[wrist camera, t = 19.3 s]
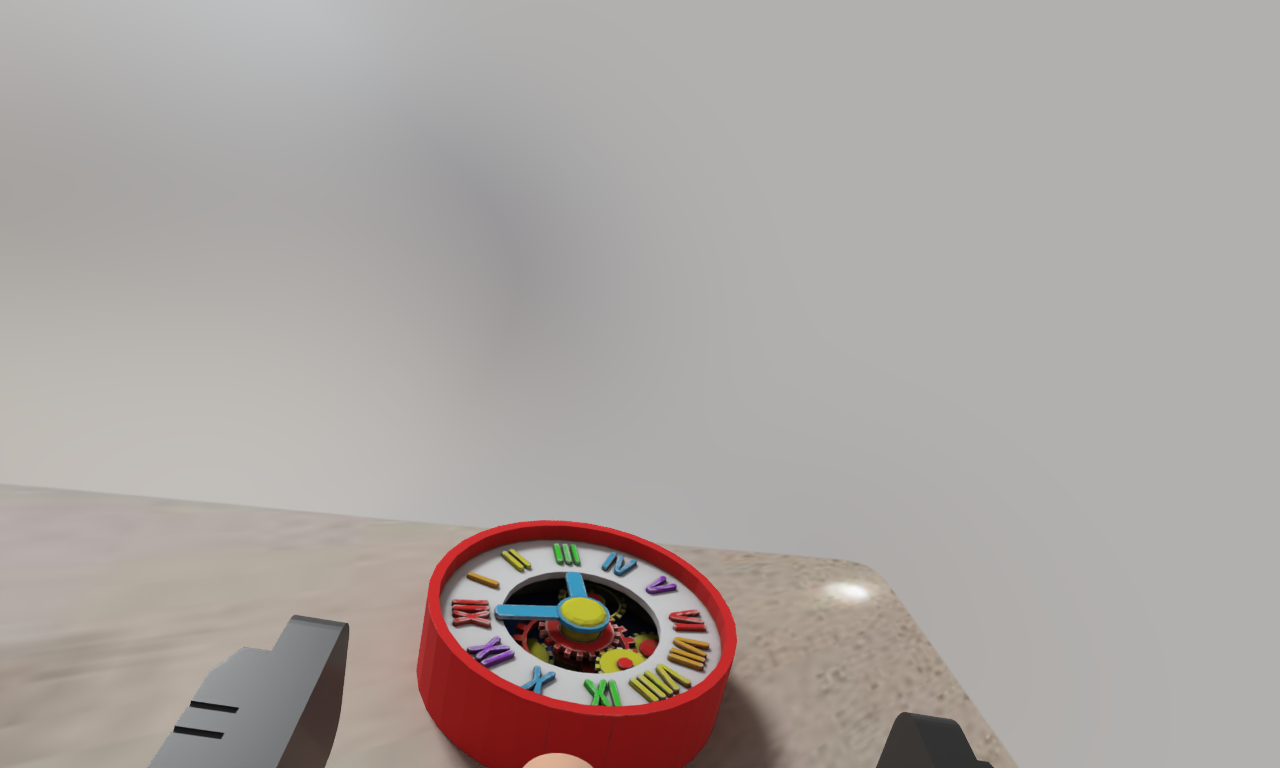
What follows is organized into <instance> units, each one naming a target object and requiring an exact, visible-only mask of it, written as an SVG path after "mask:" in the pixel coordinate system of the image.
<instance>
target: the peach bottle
mask: <svg viewBox="0 0 1280 768" xmlns="http://www.w3.org/2000/svg"><path fill="white" fill-rule="evenodd" d="M523 768H593V767H592V766H591V765H590V764H588V763H587V762H585V761H584V760H582V759H580V758H578V757H575V756H572V755H568V754H562V753H550V754H544V755H541V756H538V757H536V758H534V759H532V760H531V761H529V762H528V763H527V764H526V765H525V766H524V767H523Z"/></svg>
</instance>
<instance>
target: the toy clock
mask: <svg viewBox="0 0 1280 768" xmlns="http://www.w3.org/2000/svg"><path fill="white" fill-rule="evenodd" d="M736 644H737V636H736V627H735V623H734V620H733V617H732V614H731V612H730V609H729V607H728V605H727V604H726V602H725V601H724V599H723V597H722V596H721V594H720V593H719V591H718V590H717V589H716V588H715V587H714V586H713V585H712V584H711V583H710V581H709V580H708V579H707V578H706V577H705V576H703V575H702V574H701V573H700V572H699V571H698V570H696V569H695V568H694V567H693V566H692V565H690V564H689V563H687V562H686V561H684V560H683V559H681V558H680V557H678V556H677V555H675V554H674V553H672V552H670V551H668V550H666V549H664V548H662V547H660V546H658V545H656V544H655V543H652V542H650V541H647V540H645V539H642V538H640V537H637V536H635V535H632V534H629V533H625V532H622V531H619V530H615V529H612V528H608V527H603V526H598V525H593V524H588V523H580V522H571V521H549V520H548V521H547V520H540V521H528V522H518V523H513V524H508V525H503V526H498V527H495V528H492V529H489V530H486V531H483V532H480V533H478V534H476V535H474V536H472V537H470V538H468V539H466V540H464V541H462V542H461V543H459V544H458V545H457V546H455V547H454V548H453V549H451V550H450V551H449V552H448V553H447V554H446V555H445V556H444V557H443V559H442V560H441V561H440V562H439V563H438V564H437V566H436V568H435V570H434V572H433V575H432V577H431V579H430V582H429V589H428V596H427V602H426V609H425V616H424V623H423V630H422V636H421V643H420V650H419V657H418V664H417V678H418V687H419V691H420V694H421V697H422V699H423V702H424V704H425V707H426V710H427V711H428V713H429V714H430V716H431V717H432V719H433V720H434V722H435V723H436V725H437V726H438V728H439V729H440V730H441V731H442V732H443V733H444V734H445V735H446V736H447V737H448V738H449V739H450V740H451V741H452V742H453V743H454V744H455V745H456V746H457V747H458V748H459V749H461V750H462V751H463V752H465V753H466V754H468V755H469V756H470V757H472V758H473V759H475V760H476V761H477V762H479V763H480V764H482V765H484V766H486V767H488V768H523V767H524V766H525V765H526V764H527V763H528V762H529V761H531V760H532V759H534V758H536V757H538V756H541V755H544V754H550V753H562V754H568V755H572V756H575V757H578V758H580V759H582V760H584V761H585V762H587V763H588V764H590V765H591V766H592V767H593V768H682V767H683V766H685V765H686V764H687V763H689V762H690V761H691V760H693V758H694V757H695V756H696V755H697V754H698V752H699V751H700V750H701V749H702V748H703V747H704V745H705V744H706V742H707V740H708V738H709V736H710V734H711V732H712V729H713V727H714V724H715V721H716V717H717V714H718V710H719V707H720V704H721V700H722V697H723V693H724V690H725V686H726V683H727V680H728V676H729V673H730V669H731V666H732V663H733V659H734V655H735V649H736Z"/></svg>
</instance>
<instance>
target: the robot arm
mask: <svg viewBox="0 0 1280 768" xmlns="http://www.w3.org/2000/svg"><path fill="white" fill-rule="evenodd" d="M348 640H349V625H348V623H343V622H337V621H331V620H324V619H318V618H311V617H305V616H299V615H294V616H292V618H291V619H290V620H289V622H288V623H287V625H286V627H285V629H284V630H283V632H282V634H281V636H280V637H279V639H278V641H277V643H276V644H275V646H274V648H273V649H272V651H268V650H261V649H255V648H248V647H243V648H241V649H240V650H239V651H237V652H236V653H234V654H233V655H232V656H230V657H229V658H227V659H226V660H225V661H223V662H222V663H220V664H219V665H218V666H216V667H215V668H213V669H212V670H211V671H210V672H209V674H208V676H207V677H206V679H205V680H204V682H203V683H202V685H201V686H200V688H199V689H198V691H197V692H196V694H195V695H194V697H193V699H192V700H191V704H190V706H189V707H187V708H186V709H185V711H184V712H183V714H182V715H181V717H180V718H179V720H178V722H177V723H176V725H175V728H174V731H173V733H172V732H170V734H169V735H168V737H167V738H166V740H165V742H164V743H163V745H162V746H161V748H160V749H159V751H158V752H157V754H156V755H155V757H154V758H153V760H152V761H151V763H150V765H149V766H148V768H324V767H325V765H326V763H327V760H328V757H329V755H330V752H331V749H332V746H333V743H334V739H335V735H336V731H337V727H338V723H339V718H340V712H341V704H342V695H343V686H344V677H345V668H346V659H347V649H348ZM876 768H994V767H993V766H992V765H991V764H990V763H989V762H985V761H978V760H977V759H976V757H975V755H974V753H973V751H972V749H971V747H970V745H969V743H968V741H967V739H966V737H965V735H964V733H963V731H962V729H961V727H960V726H959V724H958V723H957V722H956V721H954V720H952V719H946V718H940V717H933V716H927V715H920V714H914V713H908V712H903V713H901V714H900V715H899V716H898V717H897V718H896V720H895V722H894V724H893V726H892V729H891V731H890V734H889V736H888V739H887V741H886V744H885V747H884V749H883V752H882V754H881V757H880V759H879V762H878V764H877V767H876Z"/></svg>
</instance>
